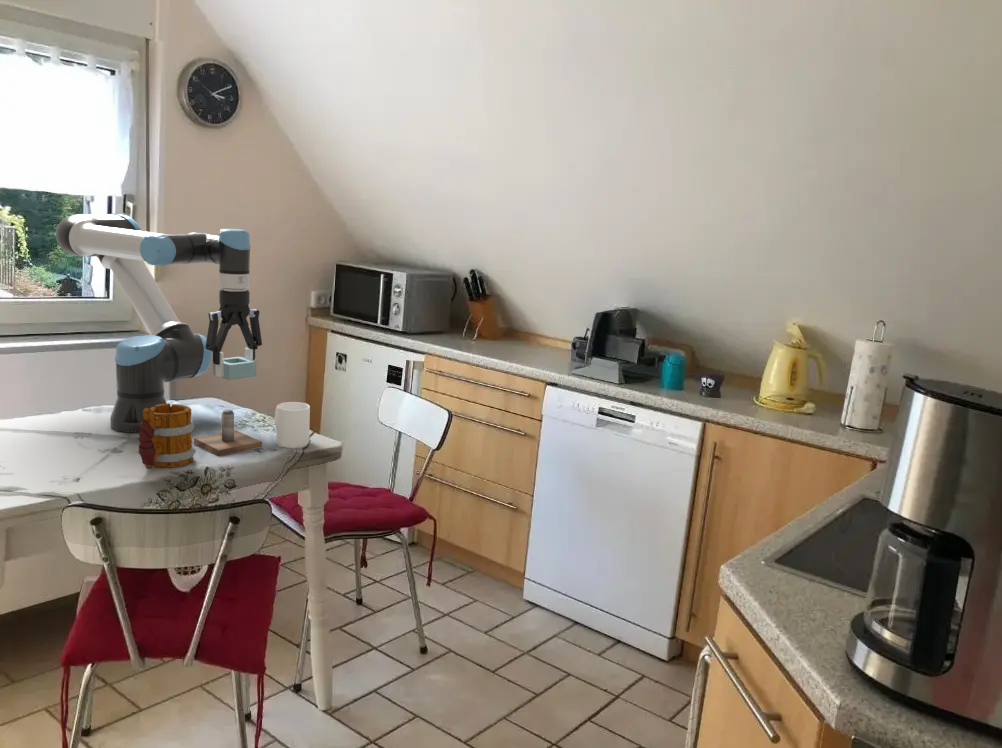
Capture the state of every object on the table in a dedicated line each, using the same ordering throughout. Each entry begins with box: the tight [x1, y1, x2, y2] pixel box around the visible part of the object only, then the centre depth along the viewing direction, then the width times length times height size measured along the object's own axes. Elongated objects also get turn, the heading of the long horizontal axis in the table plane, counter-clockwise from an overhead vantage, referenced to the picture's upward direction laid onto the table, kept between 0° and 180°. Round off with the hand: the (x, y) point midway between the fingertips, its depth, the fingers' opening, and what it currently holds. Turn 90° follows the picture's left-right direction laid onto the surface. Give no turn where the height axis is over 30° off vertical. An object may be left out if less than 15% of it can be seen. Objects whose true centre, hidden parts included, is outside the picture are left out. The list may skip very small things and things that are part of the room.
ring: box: [212, 356, 257, 381], centre depth 227 cm, size 8×8×4 cm
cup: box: [273, 401, 311, 449], centre depth 222 cm, size 8×12×10 cm
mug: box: [138, 403, 197, 470], centre depth 199 cm, size 11×16×15 cm, turn 167°
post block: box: [193, 409, 263, 457], centre depth 216 cm, size 12×12×9 cm
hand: (234, 374), depth 227 cm, fingers closed on ring, 8 cm apart
